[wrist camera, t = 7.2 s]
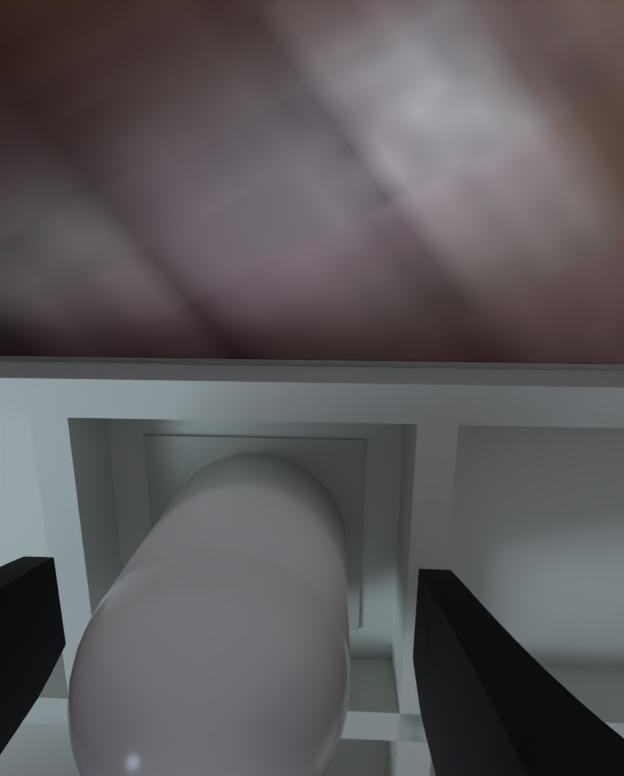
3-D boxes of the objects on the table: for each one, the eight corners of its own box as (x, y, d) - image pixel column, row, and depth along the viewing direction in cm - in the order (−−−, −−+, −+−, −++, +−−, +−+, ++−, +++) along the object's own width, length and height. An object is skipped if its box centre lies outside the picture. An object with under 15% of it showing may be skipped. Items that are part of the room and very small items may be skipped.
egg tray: (650, 877, 15) (708, 989, 13) (-90, 834, 16) (-162, 930, 14) (774, 366, 11) (891, 391, 9) (-216, 352, 12) (-348, 372, 10)
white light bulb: (342, 617, 12) (353, 955, 6) (173, 611, 12) (20, 934, 6) (347, 455, 11) (363, 671, 5) (161, 452, 11) (-35, 655, 5)
